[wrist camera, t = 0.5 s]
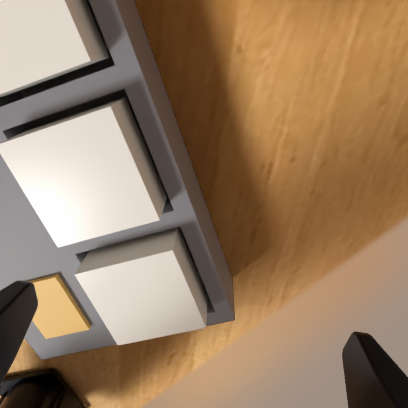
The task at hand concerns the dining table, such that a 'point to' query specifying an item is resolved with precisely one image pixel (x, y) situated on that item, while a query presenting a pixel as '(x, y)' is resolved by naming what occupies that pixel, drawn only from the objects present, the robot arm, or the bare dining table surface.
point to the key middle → (87, 173)
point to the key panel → (75, 253)
